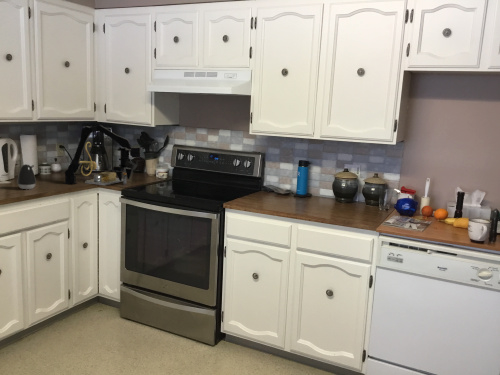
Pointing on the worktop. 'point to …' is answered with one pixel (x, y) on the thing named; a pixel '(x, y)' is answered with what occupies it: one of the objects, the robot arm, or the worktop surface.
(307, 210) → the worktop surface
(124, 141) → the robot arm
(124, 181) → the lever with copper knob
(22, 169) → the pump dispenser
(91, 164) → the wall sconce
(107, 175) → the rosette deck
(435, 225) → the worktop surface
